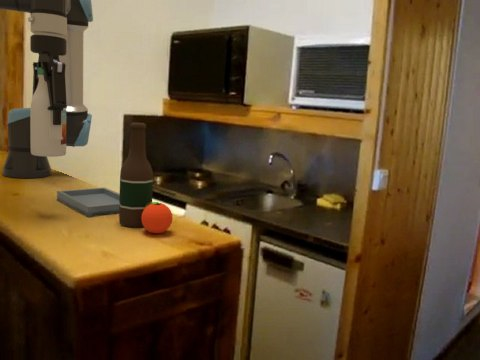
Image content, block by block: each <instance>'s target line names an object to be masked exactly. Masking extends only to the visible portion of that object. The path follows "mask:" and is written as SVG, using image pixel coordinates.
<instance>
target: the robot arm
mask: <svg viewBox="0 0 480 360" xmlns="http://www.w3.org/2000/svg"><path fill="white" fill-rule="evenodd" d="M0 10H3V11H11V12H20V13H21V12H22V13H28V14H30V15H29V17H28V18H27V22H29V23H30V32H31V33H32V35H31V36H30V38H29V40H30V45H29V46H30V52H31V53H34V54H38V60H37V62H36V61H35V62H34V61H33V62H32V69H33V73H32V74H33V77H32V79H33V80H32V97H33V95H34V93H35V91H36V88H37V86H38V82H39V77H38V68H39V67H41V68H42V69H43V74H40V75H44V80H45V81H46V82H47V87H48V94H49V101H50V106H49V107H48V108H47V109H48V110H49V139H50V140H62V111H63V108H66V147H72V148H75V147H86V146H87V145H88V143H89V138H90V132H91V125H92V118H93V115H92V114H91V113H88V110H89V109H88V107H87V106H86V105H85V104H84V33H85V32H86V30H87V29H88V28H89V23H92V22H93V21H94V16H93V5H92V0H0ZM32 97H31V98H32ZM30 112H31V107H22V108H12V109H10V110H9V111H8V115H7V122H6V123H7V139H8V141H7V144H8V148H7V149H8V151H7V156H6V159H5V161H4V164H3V167H2V175H3V176H5V177H6V178H7V177H8V178H14V179H15V178H16V179H37V178H45V177H50V176H51V175H52V166H51V165H50V162H49V161H50V160H49V159H48V158H49V157H45V156H36V155H32V154H31V139H30Z"/></svg>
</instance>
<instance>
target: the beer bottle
mask: <svg viewBox="0 0 480 360" xmlns="http://www.w3.org/2000/svg"><path fill="white" fill-rule="evenodd" d="M129 128H130V130H131V131H130V140H129V141H130V142H129V151H128V155H127V157H126V159H125V160H124V162H123V164H122V165H121V169H120V172H119V173H120V175H119V176H120V177H119V194H120V197H119V213H118V219H119V220H118V221H119V224H120V225H121V226H122V227H125V228H130V229H135V228H139V229H140V228H145V227H144V226H143V224H142V219H141V216H142V212H143V210H144V209H145V206H146V204H148V203H150V204H152V203H151V202H153V193H154V192H153V191H154V188H153V187H154V171H153V168H152V165H151V163H150V162H149V159H147V151H146V150H147V149H146V129H147V124H146V123H144V122H131V123H130V125H129ZM150 204H148V205H150ZM148 205H147V206H148ZM147 206H146V207H147Z"/></svg>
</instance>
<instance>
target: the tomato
mask: <svg viewBox="0 0 480 360" xmlns="http://www.w3.org/2000/svg"><path fill="white" fill-rule="evenodd" d="M151 203H152V204H150V203H148V204H150V205H148V204H146V206H147V205H148V206H147V207H146V206H145V209H144V210H143V212H142V216H141V219H142V224H143V226H144V227H143V228H144V229H145V230H146V231H148V233H152V234H163V233H164V232H165V231H168V229H169V228H170V227H171V225H172V224H173V213H172V210H171V209H170V207H168V206H167V205H166V204H164V203H162V202H158V201H152V202H151Z"/></svg>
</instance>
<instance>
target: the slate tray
mask: <svg viewBox="0 0 480 360" xmlns="http://www.w3.org/2000/svg"><path fill="white" fill-rule="evenodd" d="M119 197H120V192H116V191H114V190H112V189H110V188H108V187H92V188H83V189H69V190H58V191H56V198H57V199H56V200H57V201H58V202H60V203H61V204H63V203H64V205H65V206H67V207H69V208H70V209H72V208H73V210H74V209H75V210H74V211H76V212H78V213H80V214H81V215H83V216H85V217H87V218H92V217H99V216H109V215H115V214H116V215H119Z"/></svg>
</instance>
